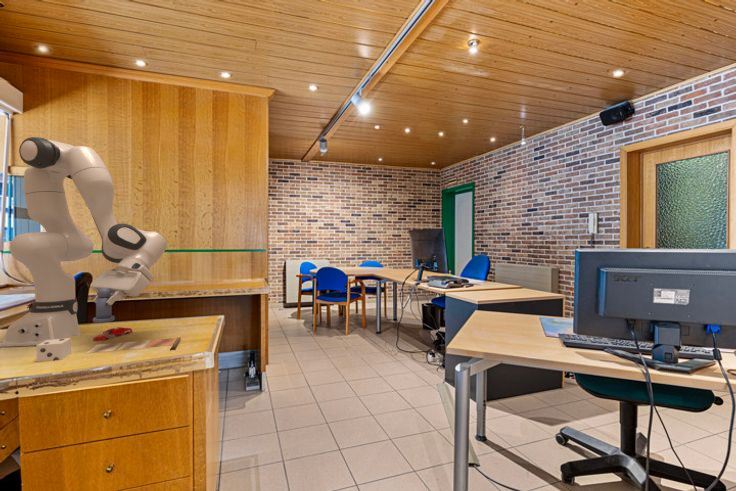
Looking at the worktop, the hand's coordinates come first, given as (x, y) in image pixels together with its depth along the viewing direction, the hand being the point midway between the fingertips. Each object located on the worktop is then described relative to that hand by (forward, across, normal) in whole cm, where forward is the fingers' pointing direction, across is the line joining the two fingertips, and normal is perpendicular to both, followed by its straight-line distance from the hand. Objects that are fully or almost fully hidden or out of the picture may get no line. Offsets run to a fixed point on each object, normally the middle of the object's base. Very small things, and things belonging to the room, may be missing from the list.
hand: (101, 303), depth 115 cm
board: (+7, +7, +15) cm, 18 cm away
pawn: (+4, 0, +5) cm, 6 cm away
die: (+19, -4, +4) cm, 20 cm away
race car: (+4, -11, +20) cm, 23 cm away
